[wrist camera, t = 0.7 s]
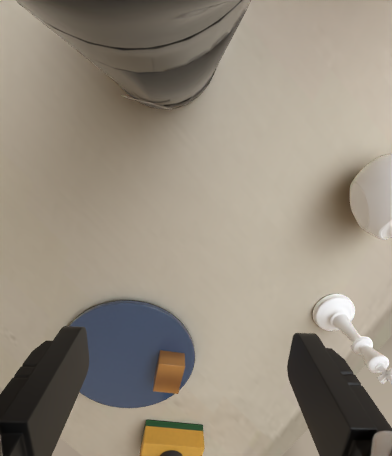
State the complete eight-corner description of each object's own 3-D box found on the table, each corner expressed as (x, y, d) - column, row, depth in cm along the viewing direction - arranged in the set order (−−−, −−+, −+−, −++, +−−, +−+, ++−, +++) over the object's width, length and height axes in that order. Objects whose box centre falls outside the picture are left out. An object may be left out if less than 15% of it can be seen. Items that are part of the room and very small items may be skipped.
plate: (48, 303, 30) (44, 308, 29) (190, 292, 30) (191, 298, 29) (76, 406, 35) (73, 413, 34) (197, 395, 36) (197, 402, 35)
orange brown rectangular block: (160, 350, 32) (158, 363, 30) (184, 353, 32) (185, 366, 30) (154, 376, 33) (152, 391, 31) (178, 379, 33) (178, 394, 31)
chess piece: (304, 312, 32) (355, 386, 23) (336, 286, 31) (404, 351, 22) (328, 334, 33) (386, 412, 24) (360, 309, 32) (433, 381, 23)
